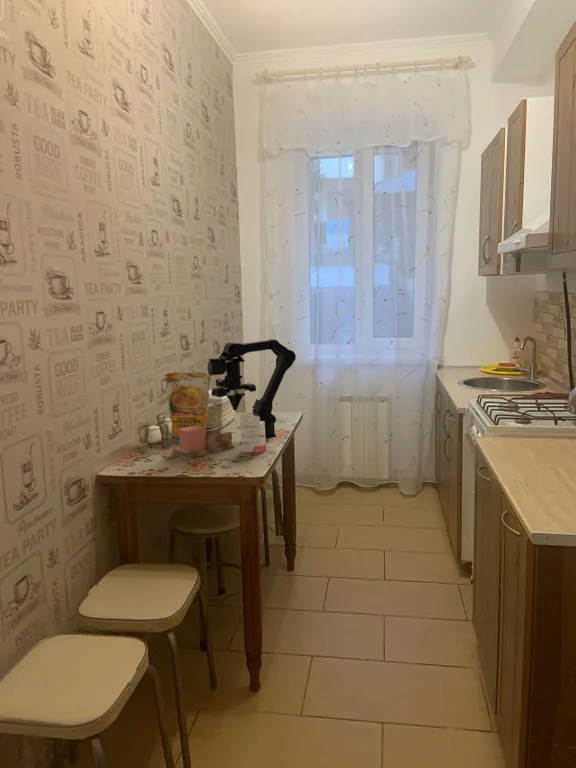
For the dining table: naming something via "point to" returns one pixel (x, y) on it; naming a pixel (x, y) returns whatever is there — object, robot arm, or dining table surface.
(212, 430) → the chute
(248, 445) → the ink cartridge box
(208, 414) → the storage basket
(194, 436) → the block
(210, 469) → the dining table surface
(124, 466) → the dining table surface
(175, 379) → the pancake mix bag
